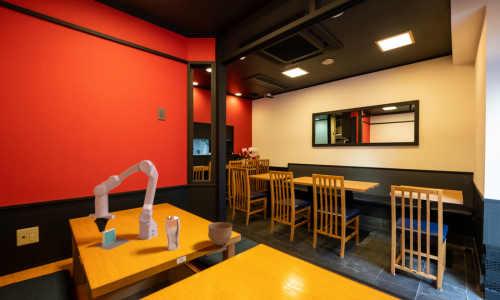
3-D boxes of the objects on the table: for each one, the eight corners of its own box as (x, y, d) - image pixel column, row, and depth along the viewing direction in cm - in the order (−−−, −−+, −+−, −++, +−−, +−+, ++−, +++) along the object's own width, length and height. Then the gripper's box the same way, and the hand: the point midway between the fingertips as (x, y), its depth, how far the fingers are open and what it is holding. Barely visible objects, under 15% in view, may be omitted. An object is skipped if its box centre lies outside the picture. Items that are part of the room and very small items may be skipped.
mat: (131, 241, 115) (131, 240, 115) (108, 251, 104) (108, 250, 104) (116, 238, 120) (116, 237, 120) (94, 247, 109) (94, 246, 109)
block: (115, 241, 114) (115, 228, 114) (104, 246, 108) (104, 232, 108) (113, 240, 115) (113, 228, 115) (102, 245, 109) (101, 231, 109)
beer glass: (164, 251, 102) (164, 220, 102) (166, 245, 109) (166, 216, 109) (179, 249, 104) (179, 219, 104) (180, 243, 111) (180, 215, 111)
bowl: (237, 241, 112) (237, 222, 112) (222, 251, 101) (221, 230, 102) (219, 236, 119) (218, 219, 119) (203, 245, 108) (202, 226, 108)
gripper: (119, 205, 117) (119, 229, 117) (97, 204, 119) (97, 228, 119) (108, 208, 110) (108, 234, 110) (85, 207, 112) (85, 233, 112)
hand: (102, 231), depth 114 cm, fingers closed
